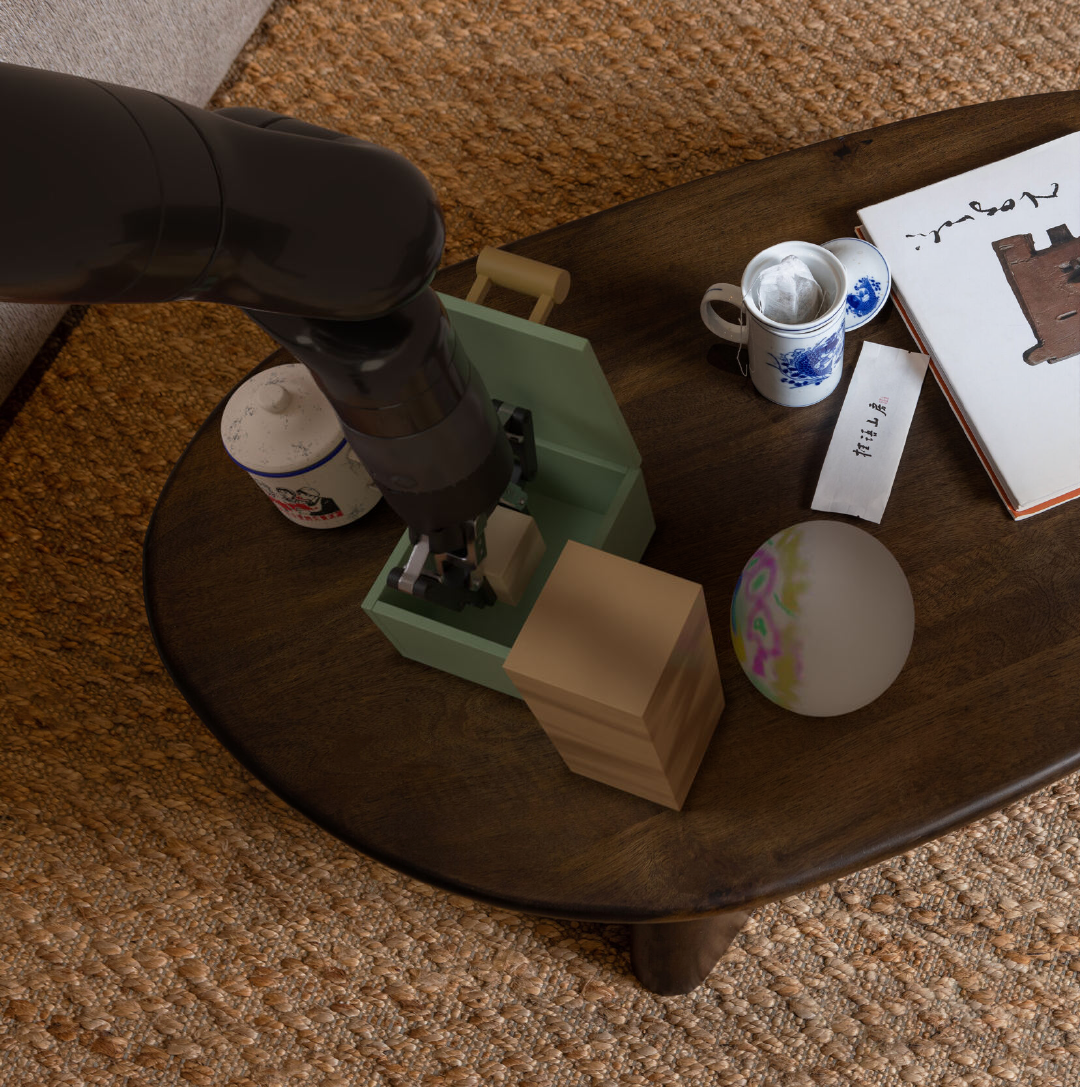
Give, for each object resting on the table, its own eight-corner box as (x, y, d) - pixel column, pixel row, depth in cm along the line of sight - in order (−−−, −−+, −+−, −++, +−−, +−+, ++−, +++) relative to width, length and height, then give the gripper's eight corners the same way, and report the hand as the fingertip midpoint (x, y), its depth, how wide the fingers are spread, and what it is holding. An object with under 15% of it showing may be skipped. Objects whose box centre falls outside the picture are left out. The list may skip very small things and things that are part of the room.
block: (516, 607, 77) (500, 578, 73) (453, 585, 78) (434, 554, 74) (547, 548, 79) (533, 516, 75) (486, 527, 80) (468, 494, 76)
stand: (680, 812, 78) (642, 717, 61) (570, 771, 80) (501, 666, 62) (725, 704, 82) (702, 584, 64) (620, 666, 83) (568, 538, 65)
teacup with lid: (247, 511, 88) (172, 427, 77) (312, 414, 92) (249, 322, 81) (390, 562, 86) (333, 484, 76) (450, 462, 90) (403, 374, 80)
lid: (582, 351, 64) (622, 269, 66) (377, 285, 66) (420, 207, 67) (638, 469, 80) (668, 401, 81) (470, 414, 81) (504, 348, 83)
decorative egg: (738, 573, 86) (726, 470, 73) (905, 575, 87) (923, 473, 73) (731, 735, 81) (716, 656, 67) (909, 737, 81) (929, 658, 68)
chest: (565, 715, 81) (538, 671, 73) (402, 656, 83) (359, 606, 75) (656, 527, 88) (641, 468, 80) (504, 476, 90) (474, 412, 82)
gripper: (428, 307, 67) (499, 461, 82) (292, 516, 61) (396, 640, 76) (548, 346, 66) (597, 494, 81) (422, 562, 60) (501, 679, 75)
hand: (499, 564), depth 78 cm, fingers closed on block, 4 cm apart
